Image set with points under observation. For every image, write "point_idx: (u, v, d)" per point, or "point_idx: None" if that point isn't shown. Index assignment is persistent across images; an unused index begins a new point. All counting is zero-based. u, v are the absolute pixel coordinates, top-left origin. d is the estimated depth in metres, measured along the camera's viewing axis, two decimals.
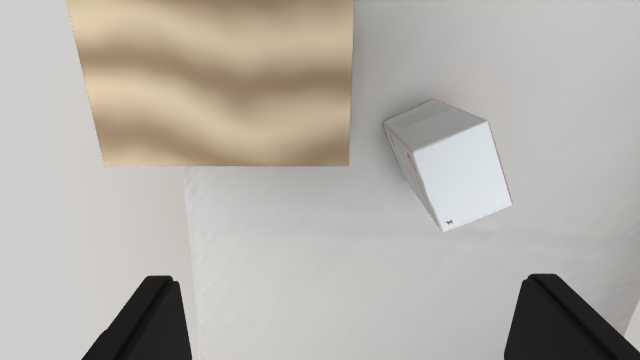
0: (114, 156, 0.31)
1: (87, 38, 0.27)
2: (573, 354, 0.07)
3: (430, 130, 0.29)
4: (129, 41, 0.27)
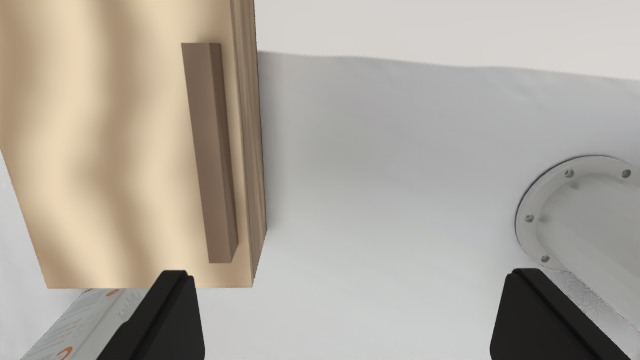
0: None
1: None
2: (552, 345, 0.07)
3: None
4: (140, 47, 0.21)
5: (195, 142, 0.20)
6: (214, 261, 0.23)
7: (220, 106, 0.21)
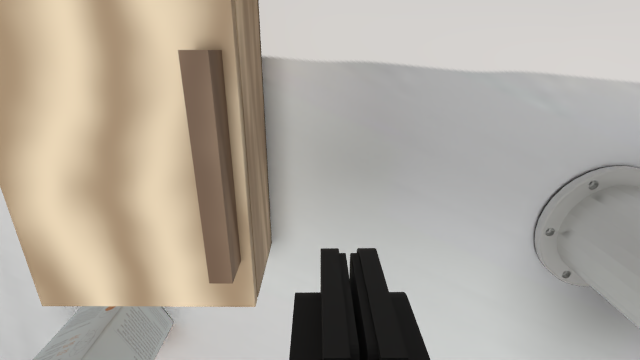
0: None
1: None
2: (357, 313, 0.08)
3: None
4: (136, 54, 0.20)
5: (194, 156, 0.19)
6: (214, 281, 0.22)
7: (220, 117, 0.19)
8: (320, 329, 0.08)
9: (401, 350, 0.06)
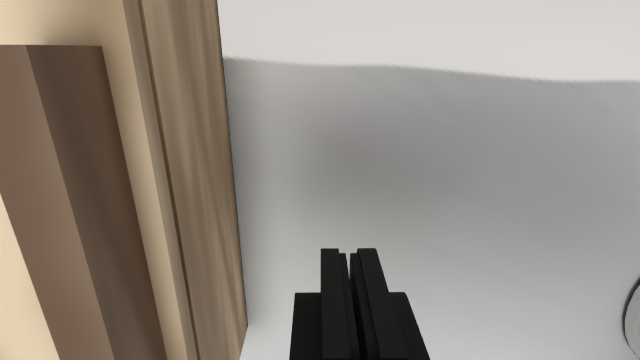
0: None
1: None
2: (357, 313, 0.08)
3: None
4: None
5: (37, 282, 0.09)
6: None
7: (99, 193, 0.09)
8: (320, 329, 0.08)
9: (401, 351, 0.06)
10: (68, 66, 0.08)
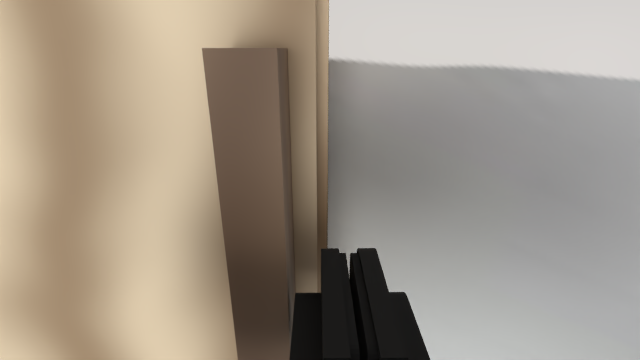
0: None
1: None
2: (357, 313, 0.08)
3: None
4: (108, 59, 0.09)
5: (232, 277, 0.09)
6: None
7: (287, 191, 0.09)
8: (320, 329, 0.08)
9: (401, 351, 0.06)
10: (283, 68, 0.08)
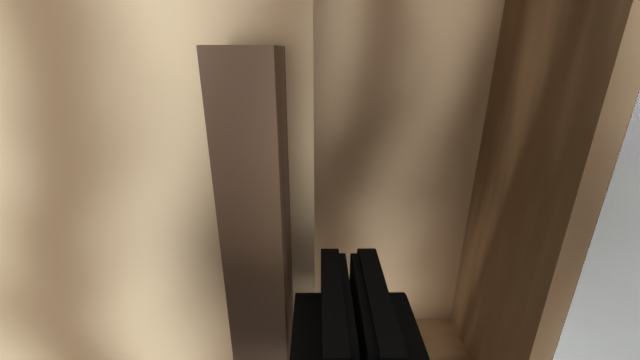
0: None
1: None
2: (357, 313, 0.08)
3: None
4: (101, 56, 0.09)
5: (228, 280, 0.09)
6: None
7: (284, 192, 0.09)
8: (320, 329, 0.08)
9: (401, 351, 0.06)
10: (280, 66, 0.08)
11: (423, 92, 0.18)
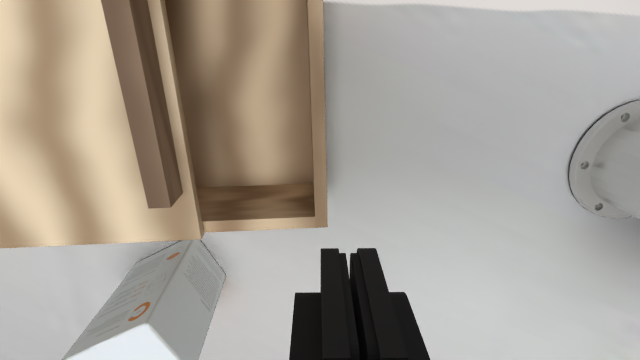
0: None
1: None
2: (357, 313, 0.08)
3: (179, 316, 0.29)
4: None
5: (120, 77, 0.20)
6: (153, 206, 0.23)
7: (145, 41, 0.20)
8: (320, 329, 0.08)
9: (401, 351, 0.06)
10: None
11: (267, 23, 0.29)
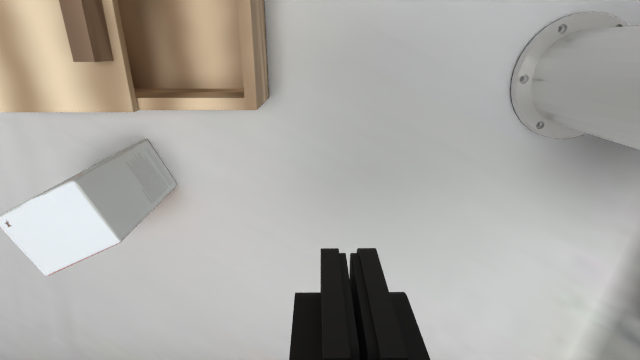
0: None
1: None
2: (358, 313, 0.08)
3: (114, 191, 0.30)
4: None
5: None
6: (78, 59, 0.25)
7: None
8: (320, 329, 0.08)
9: (401, 351, 0.06)
10: None
11: None
